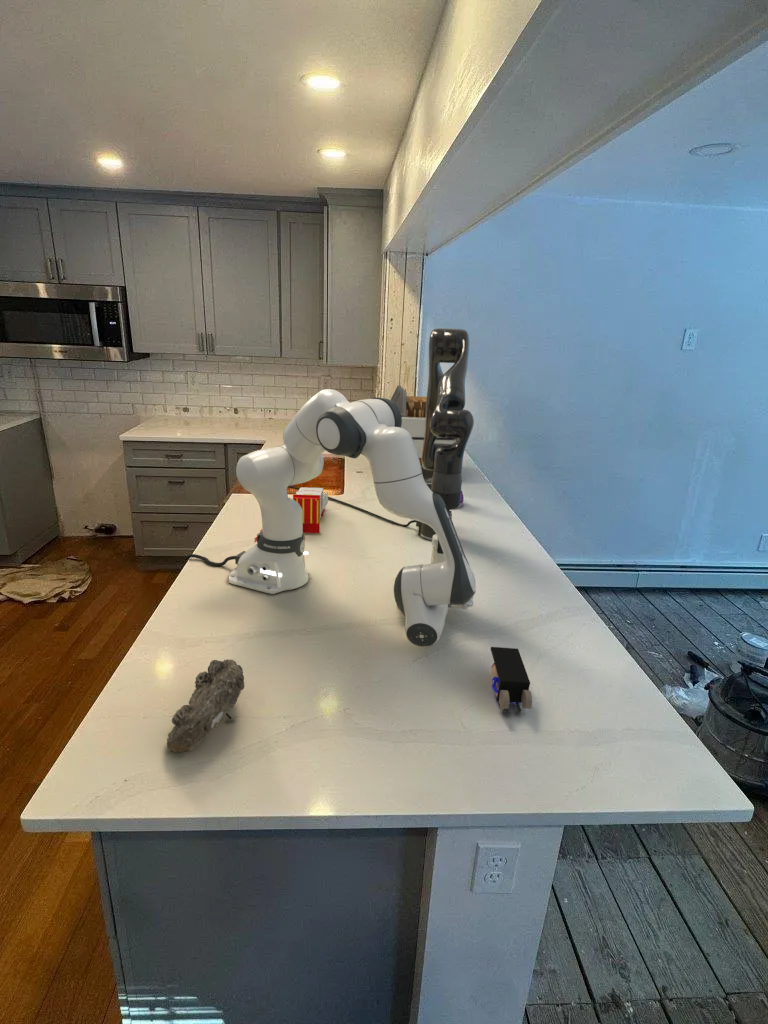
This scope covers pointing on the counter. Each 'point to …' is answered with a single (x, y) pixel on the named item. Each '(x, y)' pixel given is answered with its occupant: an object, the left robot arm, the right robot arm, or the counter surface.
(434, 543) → the lid
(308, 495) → the toy
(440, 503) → the left robot arm
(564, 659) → the counter surface
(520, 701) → the figurine character
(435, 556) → the beige canister
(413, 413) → the transformer
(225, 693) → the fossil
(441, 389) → the right robot arm
